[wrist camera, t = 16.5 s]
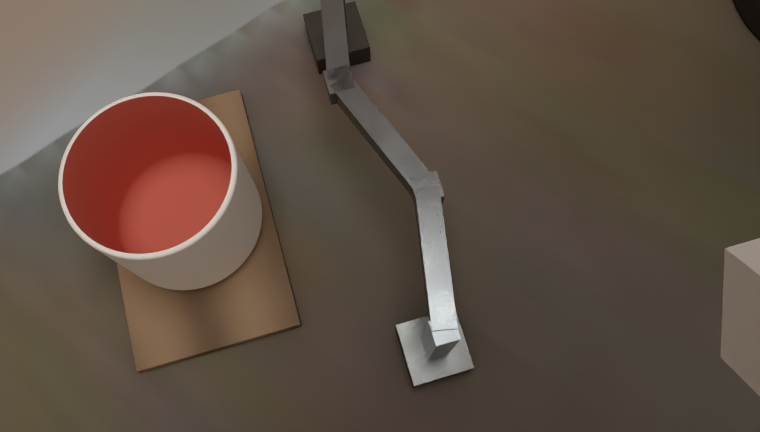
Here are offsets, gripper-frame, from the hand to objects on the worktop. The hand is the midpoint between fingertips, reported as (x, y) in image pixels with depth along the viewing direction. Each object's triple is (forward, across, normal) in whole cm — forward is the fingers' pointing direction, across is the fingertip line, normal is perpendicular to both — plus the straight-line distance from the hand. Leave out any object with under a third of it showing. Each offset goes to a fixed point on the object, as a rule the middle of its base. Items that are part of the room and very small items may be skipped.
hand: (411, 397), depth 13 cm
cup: (+35, -9, -12) cm, 38 cm away
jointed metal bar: (+35, +4, -13) cm, 37 cm away
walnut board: (+36, -10, -12) cm, 39 cm away
